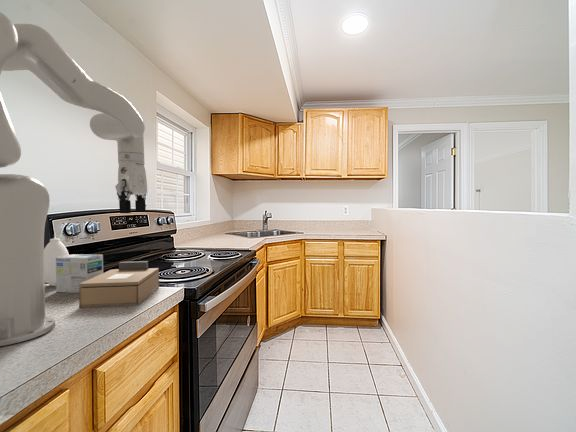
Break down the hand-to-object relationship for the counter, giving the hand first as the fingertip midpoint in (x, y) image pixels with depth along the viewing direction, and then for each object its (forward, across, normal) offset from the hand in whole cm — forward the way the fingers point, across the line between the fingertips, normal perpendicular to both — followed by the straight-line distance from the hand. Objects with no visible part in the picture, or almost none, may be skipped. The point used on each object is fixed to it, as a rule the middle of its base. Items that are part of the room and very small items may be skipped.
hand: (133, 212), depth 95 cm
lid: (+18, -13, -3) cm, 23 cm away
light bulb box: (+24, -6, +14) cm, 28 cm away
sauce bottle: (+24, -1, +26) cm, 35 cm away
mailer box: (+23, -13, -3) cm, 27 cm away
